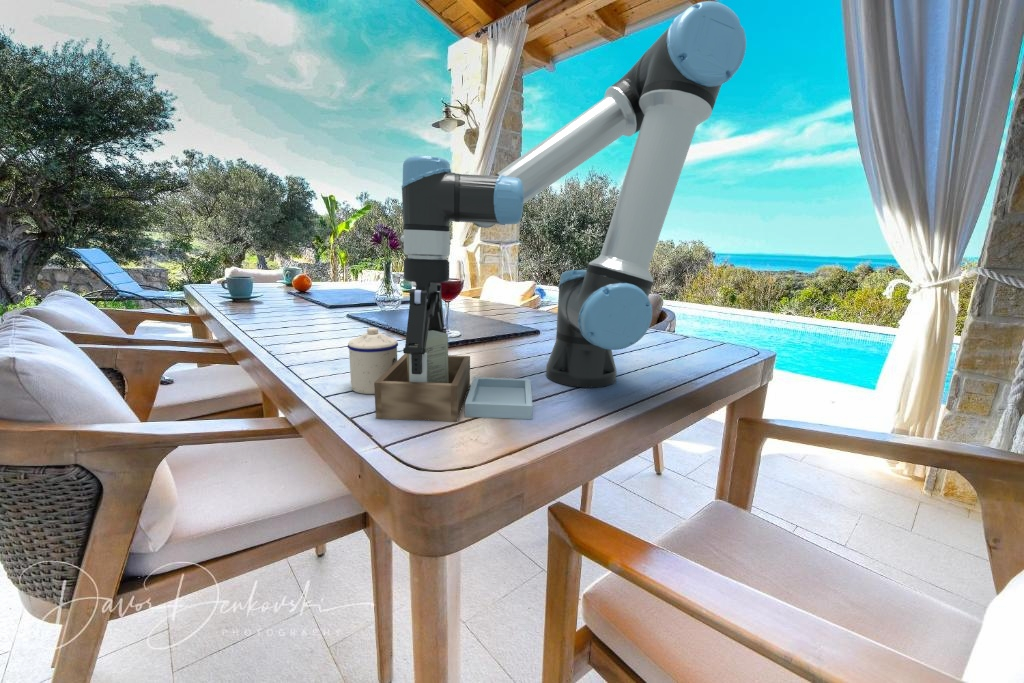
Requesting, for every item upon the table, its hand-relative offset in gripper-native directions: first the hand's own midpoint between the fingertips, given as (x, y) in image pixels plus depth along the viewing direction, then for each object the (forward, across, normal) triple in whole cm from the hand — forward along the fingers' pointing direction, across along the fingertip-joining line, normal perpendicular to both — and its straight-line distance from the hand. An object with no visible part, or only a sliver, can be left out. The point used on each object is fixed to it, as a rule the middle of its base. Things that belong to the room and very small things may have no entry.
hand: (427, 378), depth 74 cm
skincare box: (+4, 0, 0) cm, 4 cm away
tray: (+4, 0, +13) cm, 14 cm away
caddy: (+4, 0, 0) cm, 4 cm away
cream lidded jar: (+4, -7, -12) cm, 14 cm away
